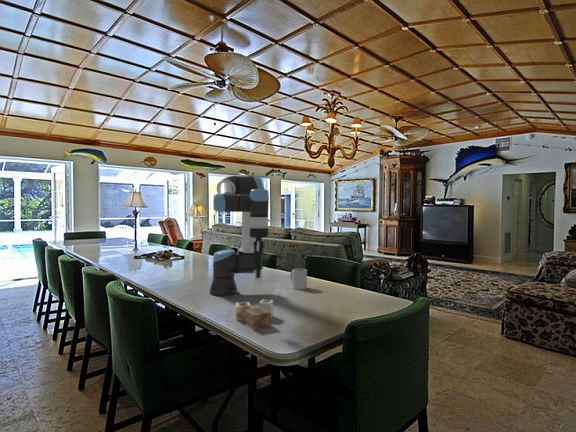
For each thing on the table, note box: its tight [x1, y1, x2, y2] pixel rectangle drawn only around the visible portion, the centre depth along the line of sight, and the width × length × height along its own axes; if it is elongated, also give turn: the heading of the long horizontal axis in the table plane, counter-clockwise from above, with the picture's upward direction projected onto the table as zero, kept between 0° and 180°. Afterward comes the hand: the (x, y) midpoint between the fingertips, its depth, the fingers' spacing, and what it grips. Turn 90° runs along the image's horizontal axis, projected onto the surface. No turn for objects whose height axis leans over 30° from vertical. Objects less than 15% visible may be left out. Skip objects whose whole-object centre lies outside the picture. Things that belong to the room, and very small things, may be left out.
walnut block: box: [244, 307, 272, 330], centre depth 140 cm, size 8×8×6 cm
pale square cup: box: [258, 299, 274, 319], centre depth 150 cm, size 5×5×7 cm
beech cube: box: [235, 301, 252, 321], centre depth 148 cm, size 6×6×6 cm
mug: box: [289, 267, 308, 291], centre depth 204 cm, size 12×8×11 cm
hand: (258, 285), depth 139 cm, fingers closed
